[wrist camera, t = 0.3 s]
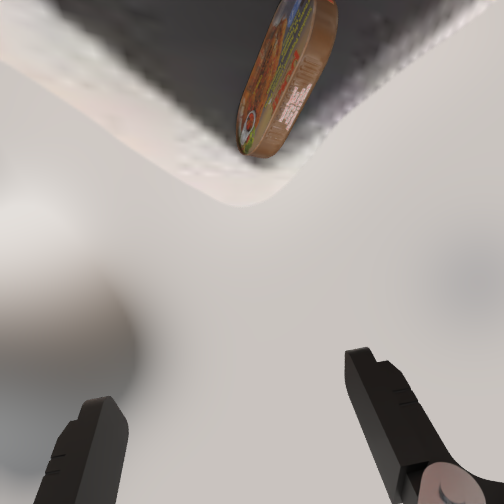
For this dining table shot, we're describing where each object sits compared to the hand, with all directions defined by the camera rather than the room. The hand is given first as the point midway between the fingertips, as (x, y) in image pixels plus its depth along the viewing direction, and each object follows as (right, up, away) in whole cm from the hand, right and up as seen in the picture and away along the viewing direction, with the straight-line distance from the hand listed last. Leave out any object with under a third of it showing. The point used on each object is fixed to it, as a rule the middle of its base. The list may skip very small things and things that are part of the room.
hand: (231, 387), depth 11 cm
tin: (+3, +24, +22) cm, 32 cm away
